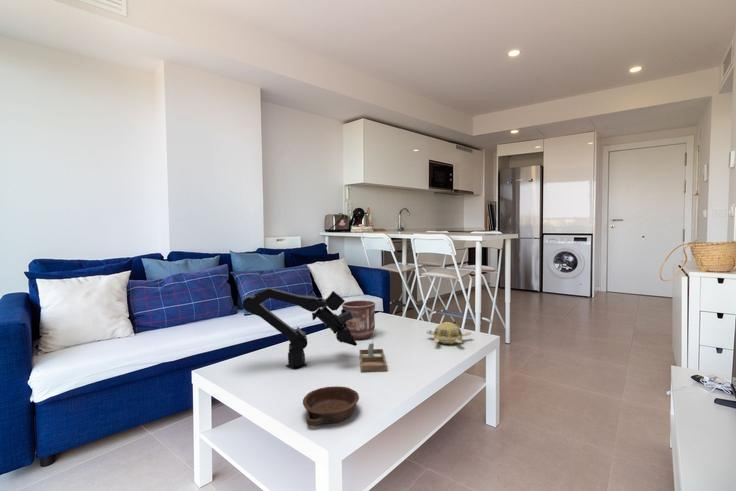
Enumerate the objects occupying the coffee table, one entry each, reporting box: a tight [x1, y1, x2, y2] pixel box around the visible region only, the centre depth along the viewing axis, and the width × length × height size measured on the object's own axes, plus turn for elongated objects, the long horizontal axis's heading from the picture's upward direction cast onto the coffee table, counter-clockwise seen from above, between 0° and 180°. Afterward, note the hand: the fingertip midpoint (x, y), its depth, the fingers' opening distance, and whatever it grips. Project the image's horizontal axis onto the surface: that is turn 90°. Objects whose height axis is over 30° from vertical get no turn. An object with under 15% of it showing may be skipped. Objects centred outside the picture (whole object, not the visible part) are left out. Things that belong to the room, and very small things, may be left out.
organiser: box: [359, 348, 388, 374], centre depth 158 cm, size 20×11×2 cm, turn 3°
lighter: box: [367, 340, 375, 357], centre depth 162 cm, size 7×2×8 cm, turn 7°
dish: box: [302, 385, 360, 426], centre depth 116 cm, size 18×22×5 cm
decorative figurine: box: [425, 321, 472, 345], centre depth 184 cm, size 26×21×10 cm
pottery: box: [341, 299, 376, 341], centre depth 197 cm, size 18×18×18 cm
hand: (354, 341), depth 161 cm, fingers open, 9 cm apart
